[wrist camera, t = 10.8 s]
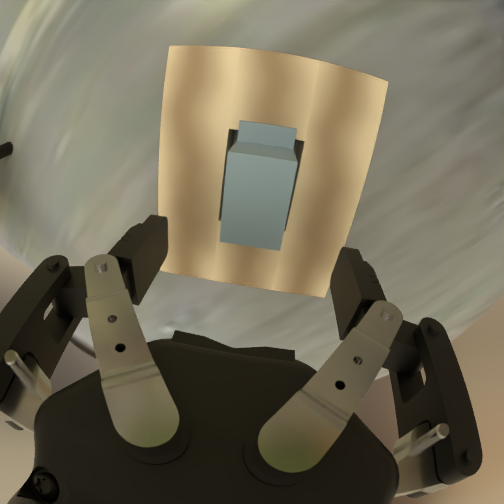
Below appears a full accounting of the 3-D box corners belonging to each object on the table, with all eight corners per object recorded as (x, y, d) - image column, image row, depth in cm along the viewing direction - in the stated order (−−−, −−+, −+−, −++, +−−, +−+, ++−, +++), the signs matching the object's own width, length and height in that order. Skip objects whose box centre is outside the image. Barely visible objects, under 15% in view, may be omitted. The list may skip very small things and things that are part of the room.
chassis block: (369, 83, 19) (388, 81, 15) (319, 270, 30) (324, 297, 26) (187, 53, 19) (169, 46, 15) (174, 246, 29) (160, 270, 26)
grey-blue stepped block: (293, 124, 21) (302, 137, 14) (276, 219, 26) (275, 269, 19) (245, 116, 21) (230, 126, 14) (233, 212, 26) (217, 260, 19)
